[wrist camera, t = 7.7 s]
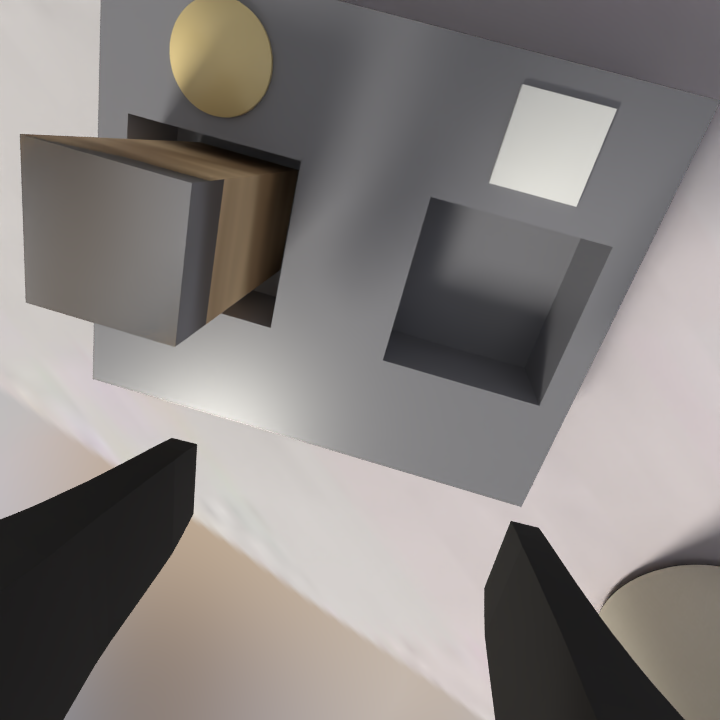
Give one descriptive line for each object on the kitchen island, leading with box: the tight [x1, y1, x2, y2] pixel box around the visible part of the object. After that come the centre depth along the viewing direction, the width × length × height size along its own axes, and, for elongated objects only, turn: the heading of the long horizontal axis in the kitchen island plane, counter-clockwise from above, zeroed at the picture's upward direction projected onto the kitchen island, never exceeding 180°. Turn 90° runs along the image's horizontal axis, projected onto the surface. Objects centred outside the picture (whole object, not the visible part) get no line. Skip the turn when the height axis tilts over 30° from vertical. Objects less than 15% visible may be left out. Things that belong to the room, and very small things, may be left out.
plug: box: [20, 134, 299, 347], centre depth 14 cm, size 4×4×8 cm
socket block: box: [93, 0, 720, 507], centre depth 17 cm, size 16×13×4 cm
